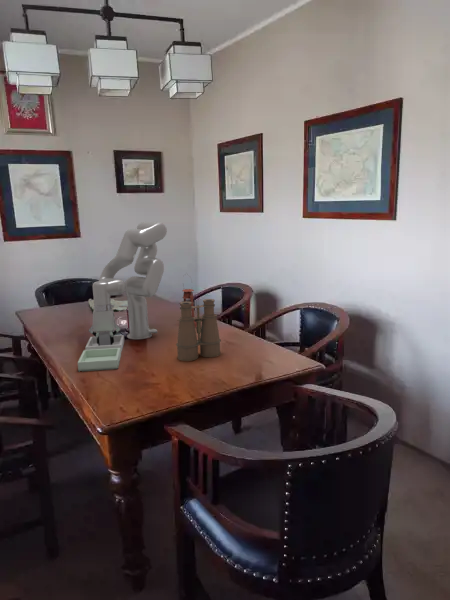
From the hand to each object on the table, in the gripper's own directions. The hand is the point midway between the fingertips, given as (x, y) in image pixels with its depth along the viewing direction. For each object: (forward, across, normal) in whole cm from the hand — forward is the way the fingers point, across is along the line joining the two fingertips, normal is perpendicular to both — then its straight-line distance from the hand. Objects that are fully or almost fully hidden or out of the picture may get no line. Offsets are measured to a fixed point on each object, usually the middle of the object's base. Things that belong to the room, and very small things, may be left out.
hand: (105, 344), depth 210 cm
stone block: (+1, 0, 0) cm, 1 cm away
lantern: (+2, -42, -32) cm, 53 cm away
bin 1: (+2, 0, 0) cm, 2 cm away
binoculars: (+3, -43, +18) cm, 47 cm away
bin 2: (+2, 0, +20) cm, 20 cm away
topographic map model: (+3, +2, -90) cm, 90 cm away
